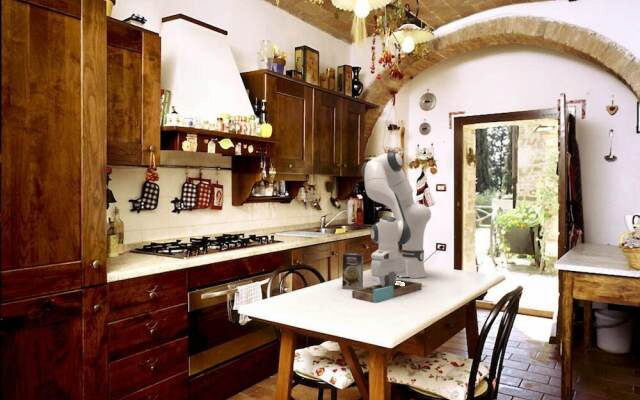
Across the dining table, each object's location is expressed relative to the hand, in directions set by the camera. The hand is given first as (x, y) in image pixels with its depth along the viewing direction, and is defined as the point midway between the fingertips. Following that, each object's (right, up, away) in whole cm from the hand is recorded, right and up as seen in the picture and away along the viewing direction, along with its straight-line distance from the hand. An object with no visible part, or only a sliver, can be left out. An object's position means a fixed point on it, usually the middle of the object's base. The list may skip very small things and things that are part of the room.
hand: (388, 284), depth 204 cm
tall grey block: (0, -4, 0) cm, 4 cm away
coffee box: (-15, -4, +12) cm, 20 cm away
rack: (0, -4, 0) cm, 4 cm away
